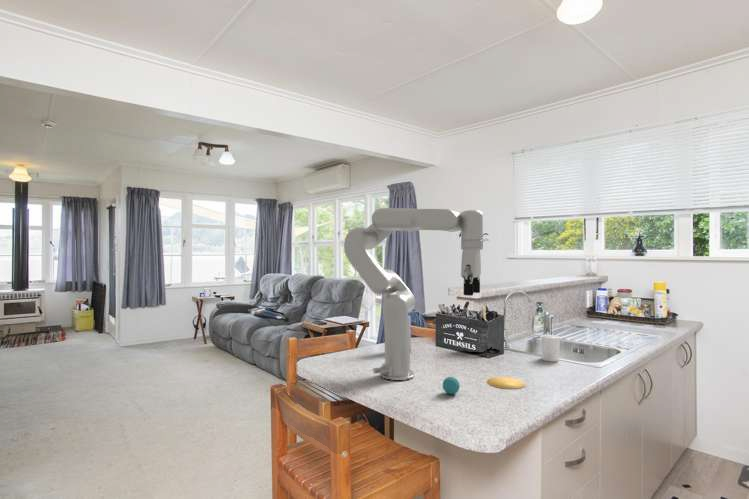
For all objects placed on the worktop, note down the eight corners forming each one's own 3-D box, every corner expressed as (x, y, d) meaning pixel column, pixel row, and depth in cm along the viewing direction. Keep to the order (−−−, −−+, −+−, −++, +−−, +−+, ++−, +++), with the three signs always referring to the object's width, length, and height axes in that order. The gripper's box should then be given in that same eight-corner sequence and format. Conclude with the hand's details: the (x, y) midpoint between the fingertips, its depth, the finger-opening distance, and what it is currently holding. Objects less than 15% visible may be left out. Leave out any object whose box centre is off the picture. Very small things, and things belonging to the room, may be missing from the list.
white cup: (548, 362, 173) (548, 338, 174) (536, 357, 181) (536, 335, 181) (564, 361, 176) (564, 337, 176) (551, 356, 183) (551, 333, 183)
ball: (449, 397, 133) (449, 380, 133) (439, 392, 137) (439, 376, 138) (463, 395, 135) (463, 378, 135) (452, 390, 140) (452, 373, 140)
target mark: (505, 391, 138) (505, 390, 138) (479, 380, 150) (479, 380, 150) (533, 385, 144) (533, 384, 144) (506, 375, 156) (506, 375, 156)
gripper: (467, 245, 156) (467, 291, 156) (454, 245, 140) (454, 295, 140) (488, 245, 152) (488, 292, 152) (476, 245, 137) (476, 297, 137)
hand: (472, 293), depth 146 cm, fingers open, 9 cm apart
